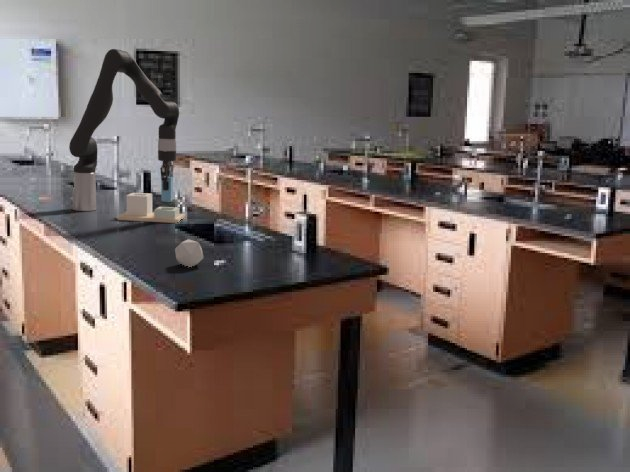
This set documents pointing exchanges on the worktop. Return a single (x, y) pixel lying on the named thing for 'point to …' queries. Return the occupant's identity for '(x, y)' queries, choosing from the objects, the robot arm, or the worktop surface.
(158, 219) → the stepped block tray
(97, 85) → the robot arm
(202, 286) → the worktop surface
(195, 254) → the grey faceted polyhedron
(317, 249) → the worktop surface
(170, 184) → the plug
